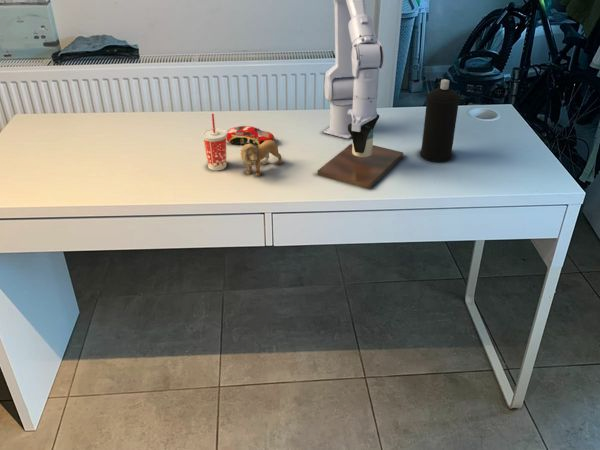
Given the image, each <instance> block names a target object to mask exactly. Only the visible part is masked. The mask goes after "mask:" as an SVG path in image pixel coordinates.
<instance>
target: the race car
mask: <svg viewBox="0 0 600 450" xmlns="http://www.w3.org/2000/svg"><path fill="white" fill-rule="evenodd" d="M226 132H227V137H226V142H228V143H232V144H233V145H235V146H236V145H239V144H240V145H246V144H249V143H250V144H254V145H256V146H259V145H260V144H262V143H263V142H264V141H266V140H273V141H275V142H276V139H275V138H276V137H275V136H274V134H273V133H272V132H270V131H266V130H261V129H260V127H258V128H257V127H255V126H250V125H249V126H248V125H239V126H235V127H231V128H229V129H228V130H227V131H226Z"/></svg>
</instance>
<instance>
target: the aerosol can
mask: <svg viewBox="0 0 600 450" xmlns="http://www.w3.org/2000/svg"><path fill="white" fill-rule="evenodd" d="M425 98H426V105H425V114H424V122H423V123H424V124H423V131H422V140H421V141H422V142H421V150H420V151H419V156H420V157H421V158H422V159H423V160H426V161H429V162H432V163H445V162H448V161H450V160H452V158H453V152H452V151H453V146H454V139H455V132H456V124H457V118H458V110H459V103H460V101H461V97H460V95H458V93H457V92H456V91H455V90H453V89H451V88H450V80H449V79H446V78H443V79H441V80H440V86H439V87H437V88H434V89H432V90H431V91H429V93H427V94H426V96H425Z"/></svg>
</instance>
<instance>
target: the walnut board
mask: <svg viewBox="0 0 600 450" xmlns="http://www.w3.org/2000/svg"><path fill="white" fill-rule="evenodd" d="M403 157H404V152H403V151H399V150H395V149H391V148H388V147H387V148H386V147H382V146H379V145H374V144H373V149H372V154H371V155H370V156H368V157H358V156H355V155H353V153H352V143H350V144H349V145H348V146H347V147H345V148H344V149H343V150H341V151H340V152H339V153H338V154H336V155H335V156H334V157H333V158H332V159H330V160H329V161H328V162H326V163H325V164H323V166H321V167H320V168H319V169H318V170H317V175H318V176H321V177H325V178H328V179H332V180H334V181H339V182H341V183H342V182H343V183H345V184H350V185H353V186H356V187H360V188H363V189H368V190H369V189H371V188H372V187H373V186H374V185H375V184H376V183H377V182H378V181H379V180H380V179H381V178H382V177H383V176H385V175H386V173H388V172H389V171H390V170H391V169H392V168H393V167H394V166H395V165H396V164H397V163H398V162H400V160H402V158H403Z"/></svg>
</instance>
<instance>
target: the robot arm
mask: <svg viewBox="0 0 600 450" xmlns="http://www.w3.org/2000/svg"><path fill="white" fill-rule="evenodd" d="M332 1H333V6H334V52H335V53H334V55H335V56H334V57H335V58H334V59H335V64H334V65H333V66H331V68H329V69H328V70H327V71H326V72H325V75H324V85H323V86H324V88H323V89H324V96H325V100H327V101H328V102H330V103H329V127H327V128H326V129H324V130H323V133H324V134H327V135H331V136H334V137H335V136H336V137H338V138H339V137H340V138H344V139H347V140H348V139H350V138H351V140H352V142H353V145H354V150H355V152H357V153H364V150H365V146H366V141H367V138H368V135H369V133H370V131H371V129H373V130H374V129H375V128H376V124H377V123H378V120H379V119H380V114H378V111H377V109H378V94H379V93H378V92H379V78H380V77H379V76H380V69H382V68H383V65H384V61H385V60H384V58H385V54H384V47H383V44H382V42H380V39H379V38H377V36H376V31H375V25H374V21H373V18H372V17H371V16H369V15H367V9H366V0H332ZM365 126H366V127H365ZM374 131H375V130H374Z"/></svg>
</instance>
